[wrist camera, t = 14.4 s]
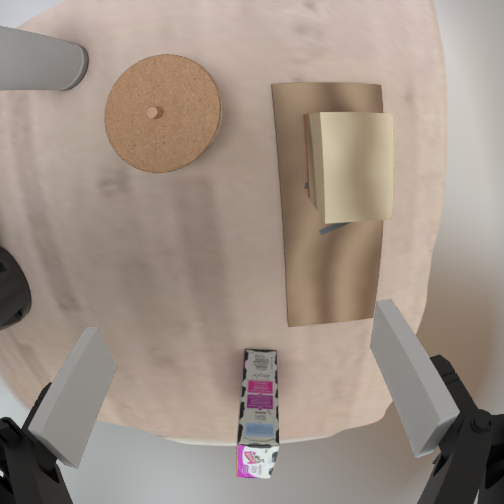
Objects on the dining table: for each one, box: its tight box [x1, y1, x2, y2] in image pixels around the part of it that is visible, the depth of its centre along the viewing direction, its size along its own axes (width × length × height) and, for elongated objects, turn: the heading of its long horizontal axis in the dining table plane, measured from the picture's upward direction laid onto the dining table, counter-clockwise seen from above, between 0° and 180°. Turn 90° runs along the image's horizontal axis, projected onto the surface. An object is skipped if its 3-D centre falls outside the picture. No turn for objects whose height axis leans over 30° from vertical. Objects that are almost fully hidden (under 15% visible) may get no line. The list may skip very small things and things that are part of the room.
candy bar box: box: [236, 350, 279, 478], centre depth 37 cm, size 11×5×16 cm, turn 177°
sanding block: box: [303, 112, 393, 224], centre depth 26 cm, size 6×9×9 cm, turn 6°
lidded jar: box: [105, 54, 223, 173], centre depth 25 cm, size 11×11×9 cm
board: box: [272, 83, 383, 327], centre depth 34 cm, size 12×30×1 cm, turn 6°
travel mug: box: [0, 26, 88, 91], centre depth 17 cm, size 6×7×20 cm
